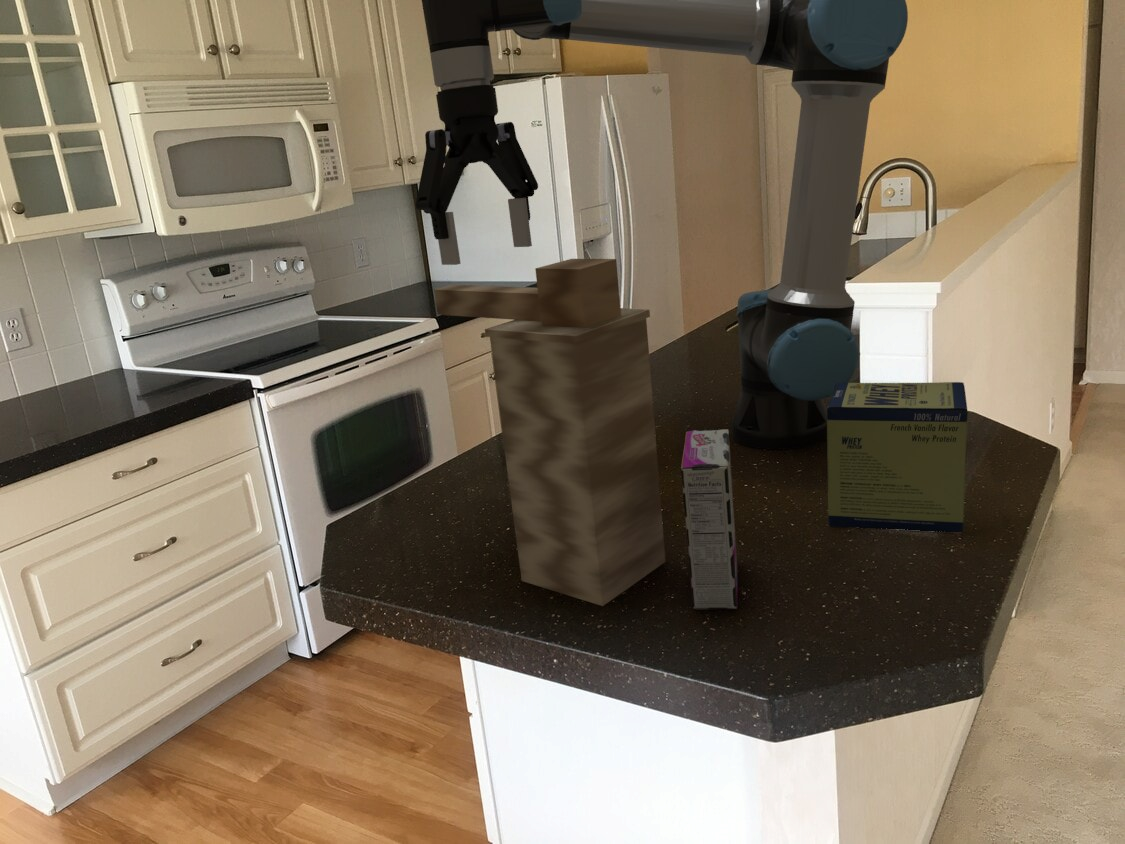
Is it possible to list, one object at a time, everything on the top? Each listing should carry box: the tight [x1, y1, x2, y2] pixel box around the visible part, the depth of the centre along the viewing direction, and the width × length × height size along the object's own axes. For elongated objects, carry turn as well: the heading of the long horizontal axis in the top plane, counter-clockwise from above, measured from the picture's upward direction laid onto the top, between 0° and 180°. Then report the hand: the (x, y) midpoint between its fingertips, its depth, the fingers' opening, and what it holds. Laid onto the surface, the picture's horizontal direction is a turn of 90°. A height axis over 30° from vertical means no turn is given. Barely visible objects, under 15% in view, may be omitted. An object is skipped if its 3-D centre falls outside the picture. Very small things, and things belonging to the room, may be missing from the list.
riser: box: [484, 307, 666, 607], centre depth 104 cm, size 13×13×30 cm
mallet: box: [433, 258, 622, 328], centre depth 103 cm, size 24×6×6 cm, turn 50°
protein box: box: [826, 381, 968, 533], centre depth 113 cm, size 10×16×16 cm
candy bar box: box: [680, 429, 738, 611], centre depth 100 cm, size 11×5×16 cm, turn 170°
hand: (488, 255), depth 124 cm, fingers open, 13 cm apart
